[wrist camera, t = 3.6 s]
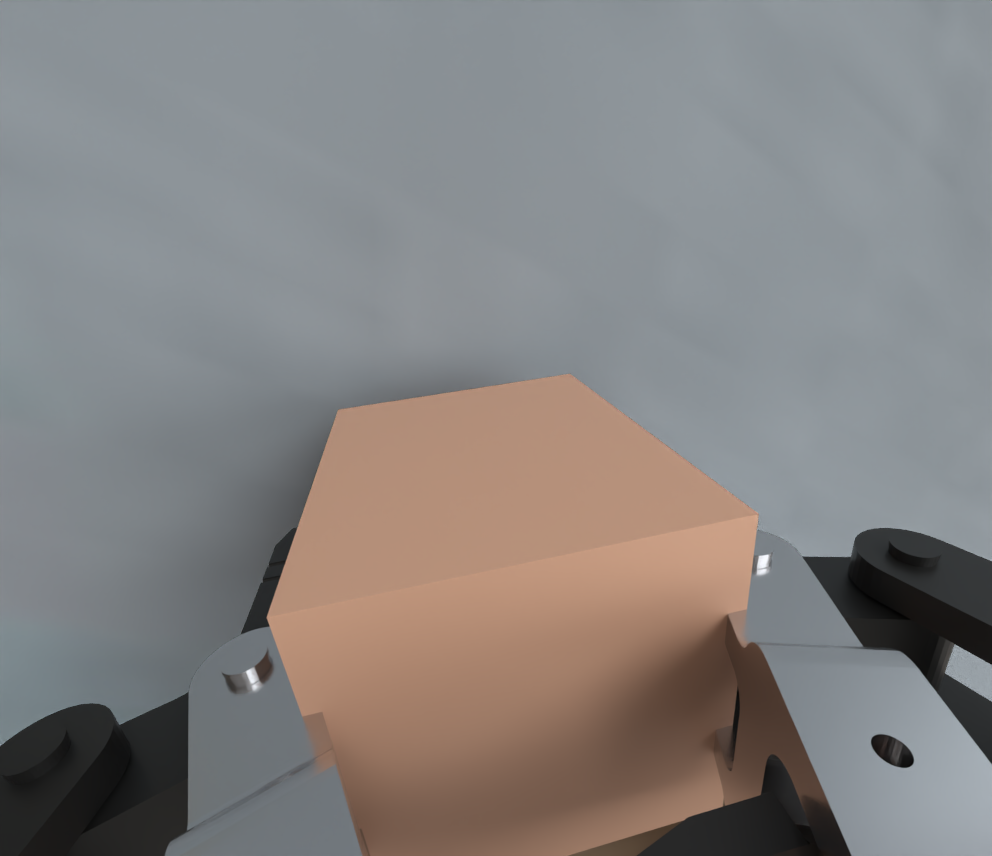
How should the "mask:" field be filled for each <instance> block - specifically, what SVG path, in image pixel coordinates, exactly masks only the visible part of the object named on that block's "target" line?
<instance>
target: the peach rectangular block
mask: <svg viewBox="0 0 992 856" xmlns="http://www.w3.org/2000/svg"><path fill="white" fill-rule="evenodd" d="M758 516H759V514H758V513H757V512H755V511H754V510H753V509H751V508H750V507H749V506H747V505H746V504H745V503H743V502H742V501H741V500H739V499H738V498H737V497H735V496H734V495H733V494H731V493H730V492H728V491H727V490H726V489H724V488H723V487H722V486H720V485H719V484H718V483H716V482H715V481H714V480H712V479H711V478H710V477H708V476H707V475H706V474H704V473H703V472H702V471H700V470H699V469H698V468H696V467H695V466H693V465H692V464H691V463H689V462H688V461H687V460H685V459H684V458H683V457H681V456H680V455H679V454H677V453H676V452H675V451H673V450H672V449H671V448H669V447H668V446H667V445H665V444H664V443H662V442H661V441H660V440H658V439H657V438H656V437H654V436H653V435H652V434H650V433H649V432H648V431H646V430H645V429H644V428H642V427H641V426H640V425H638V424H637V423H636V422H634V421H633V420H632V419H630V418H629V417H627V416H626V415H625V414H623V413H622V412H621V411H619V410H618V409H617V408H615V407H614V406H613V405H611V404H610V403H609V402H607V401H606V400H605V399H603V398H602V397H601V396H599V395H598V394H596V393H595V392H594V391H592V390H591V389H590V388H588V387H587V386H586V385H584V384H583V383H582V382H580V381H579V380H578V379H576V378H575V377H574V376H572V375H571V374H566V375H559V376H553V377H546V378H540V379H533V380H527V381H520V382H514V383H507V384H501V385H494V386H488V387H481V388H475V389H469V390H462V391H456V392H449V393H443V394H436V395H430V396H423V397H417V398H410V399H404V400H397V401H391V402H384V403H378V404H371V405H365V406H359V407H352V408H346V409H339V410H338V411H337V414H336V417H335V420H334V423H333V426H332V429H331V432H330V435H329V438H328V440H327V443H326V446H325V449H324V452H323V455H322V458H321V461H320V464H319V467H318V470H317V472H316V475H315V478H314V481H313V484H312V487H311V490H310V493H309V496H308V499H307V502H306V504H305V507H304V510H303V513H302V516H301V519H300V522H299V525H298V528H297V531H296V533H295V536H294V539H293V542H292V545H291V548H290V551H289V554H288V557H287V560H286V563H285V565H284V568H283V571H282V574H281V577H280V580H279V583H278V586H277V589H276V592H275V595H274V597H273V600H272V603H271V606H270V609H269V612H268V615H267V620H268V623H269V626H270V629H271V631H272V634H273V637H274V640H275V642H276V645H277V648H278V651H279V654H280V656H281V659H282V662H283V665H284V667H285V670H286V673H287V676H288V678H289V681H290V684H291V687H292V690H293V692H294V695H295V698H296V701H297V703H298V706H299V709H300V712H301V715H302V717H303V716H307V715H311V714H315V713H319V712H322V713H323V716H324V719H325V722H326V725H327V728H328V731H329V734H330V737H331V740H332V743H333V746H334V750H335V753H336V756H337V760H338V763H339V766H340V770H341V773H342V776H343V780H344V783H345V786H346V789H347V793H348V796H349V799H350V802H351V805H352V808H353V811H354V815H355V818H356V820H357V823H358V826H359V829H362V832H363V835H364V838H365V841H366V844H367V847H368V850H369V853H370V856H568V855H572V854H575V853H578V852H581V851H585V850H588V849H591V848H595V847H598V846H601V845H604V844H608V843H611V842H614V841H618V840H621V839H624V838H627V837H631V836H634V835H637V834H641V833H644V832H647V831H650V830H654V829H657V828H660V827H664V826H667V825H670V824H673V823H677V822H680V821H683V820H685V819H686V818H688V817H690V816H693V815H697V814H700V813H703V812H707V811H710V810H713V809H716V808H720V807H723V801H724V795H723V789H722V784H721V780H720V776H719V772H718V769H717V765H716V761H715V757H714V753H713V752H714V742H715V733H716V730H717V729H720V728H724V727H727V726H731V725H733V719H734V711H735V703H736V695H737V687H738V684H737V679H736V675H735V671H734V668H733V665H732V662H731V660H730V657H729V654H728V651H727V648H726V645H725V636H726V626H727V617H728V614H729V613H733V612H737V611H742V610H746V609H747V605H748V597H749V589H750V581H751V573H752V565H753V557H754V548H755V540H756V532H757V524H758Z"/></svg>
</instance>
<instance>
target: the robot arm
mask: <svg viewBox="0 0 992 856" xmlns="http://www.w3.org/2000/svg"><path fill="white" fill-rule="evenodd" d="M296 531H297V528H293V529H292V530H291V531H290V532H289V533H288V534H287V535H286V536H285V537H284V538H283V539H282V540H281V541H280V542H279V543H278V544H277V545H276V547H275V549H274V552H273V554H272V557H271V559H270V562H269V567H267V569H266V572H265V574H264V577H263V583H261V585H260V587H259V590H258V592H257V595H256V597H255V600H254V602H253V605H252V607H251V610H250V612H249V615H248V617H247V620H246V623H245V625H244V628H243V630H242V633H241V635H239V636H237V637H235V638H233V639H232V640H230V641H228V642H227V643H225V644H224V645H222V646H221V647H219V648H218V649H217V650H216V651H214V652H213V653H212V654H211V655H210V656H209V657H208V658H207V659H206V660H205V661H204V662H203V663H202V664H201V666H200V667H199V668H198V670H197V671H196V673H195V674H194V676H193V678H192V681H191V683H190V687H189V692H188V693H186V694H185V695H183V696H181V697H179V698H177V699H175V700H173V701H171V702H169V703H167V704H164V705H162V706H160V707H158V708H156V709H153V710H151V711H149V712H147V713H145V714H143V715H140V716H138V717H136V718H134V719H132V720H129V721H127V722H125V723H123V724H121V725H119V724H118V722H117V720H116V718H115V717H114V715H113V713H112V712H111V710H110V709H109V708H107V707H106V706H104V705H100V704H91V703H90V704H81V705H77V706H73V707H69V708H66V709H63V710H60V711H58V712H56V713H53V714H51V715H49V716H47V717H45V718H43V719H41V720H39V721H37V722H35V723H33V724H32V725H30V726H28V727H27V728H25V729H24V730H22V731H20V732H19V733H18V734H16V735H15V736H13V737H12V738H10V739H9V740H8V741H6V742H5V743H4V744H3V745H1V746H0V856H370V853H369V850H368V847H367V844H366V841H365V838H364V835H363V832H362V829H359V826H358V823H357V820H356V818H355V815H354V811H353V808H352V805H351V802H350V799H349V796H348V793H347V789H346V786H345V783H344V780H343V776H342V773H341V770H340V766H339V763H338V760H337V756H336V753H335V750H334V746H333V743H332V740H331V737H330V734H329V731H328V728H327V725H326V722H325V719H324V716H323V713H322V712H319V713H315V714H311V715H307V716H303V717H302V715H301V712H300V709H299V706H298V703H297V701H296V698H295V695H294V692H293V690H292V687H291V684H290V681H289V678H288V676H287V673H286V670H285V667H284V665H283V662H282V659H281V656H280V654H279V651H278V648H277V645H276V642H275V640H274V637H273V634H272V631H271V629H270V626H269V623H268V620H267V615H268V612H269V609H270V606H271V603H272V600H273V597H274V595H275V592H276V589H277V586H278V583H279V580H280V577H281V574H282V571H283V568H284V565H285V563H286V560H287V557H288V554H289V551H290V548H291V545H292V542H293V539H294V536H295V533H296ZM954 644H956V645H957V646H959V647H961V648H963V649H965V650H966V651H968V652H970V653H972V654H974V655H975V656H977V657H979V658H981V659H983V660H984V661H986V662H988V663H990V664H992V561H989V560H987V559H984V558H982V557H979V556H977V555H975V554H972V553H970V552H967V551H965V550H963V549H960V548H958V547H955V546H953V545H951V544H948V543H946V542H943V541H941V540H938V539H936V538H933V537H930V536H927V535H924V534H921V533H917V532H912V531H908V530H902V529H893V528H878V529H871V530H867V531H864V532H862V533H860V534H859V535H857V537H856V538H855V541H854V546H853V551H852V555H851V557H802V556H801V554H800V553H799V552H798V550H797V549H796V548H795V547H793V546H792V545H791V544H790V543H788V542H787V541H785V540H783V539H781V538H779V537H777V536H775V535H773V534H770V533H767V532H764V531H760V530H757V532H756V540H755V548H754V557H753V565H752V573H751V581H750V589H749V597H748V605H747V609H746V610H742V611H737V612H733V613H729V614H728V617H727V626H726V636H725V645H726V648H727V651H728V654H729V657H730V660H731V662H732V665H733V668H734V671H735V675H736V679H737V684H738V687H737V695H736V703H735V711H734V719H733V725H731V726H727V727H724V728H720V729H717V730H716V733H715V742H714V752H713V753H714V757H715V761H716V765H717V769H718V772H719V776H720V780H721V784H722V789H723V795H724V802H725V806H723V807H720V808H716V809H713V810H710V811H707V812H703V813H700V814H697V815H693V816H690V817H688V818H686V819H685V820H684V821H682V822H681V823H680V824H678V825H677V826H676V827H674V828H673V829H672V830H670V831H669V832H668V833H666V834H665V835H664V836H662V837H661V838H660V839H658V840H657V841H655V842H654V843H653V844H651V845H650V846H649V847H647V848H646V849H645V850H643V851H642V852H641V853H639V854H638V855H637V856H992V702H991V701H989V700H988V699H986V698H984V697H983V696H981V695H979V694H978V693H976V692H975V691H973V690H971V689H970V688H968V687H966V686H965V685H963V684H961V683H960V682H958V681H956V680H955V679H953V678H951V677H950V676H948V675H947V674H945V670H946V667H947V664H948V661H949V658H950V656H951V653H952V650H953V647H954Z"/></svg>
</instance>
